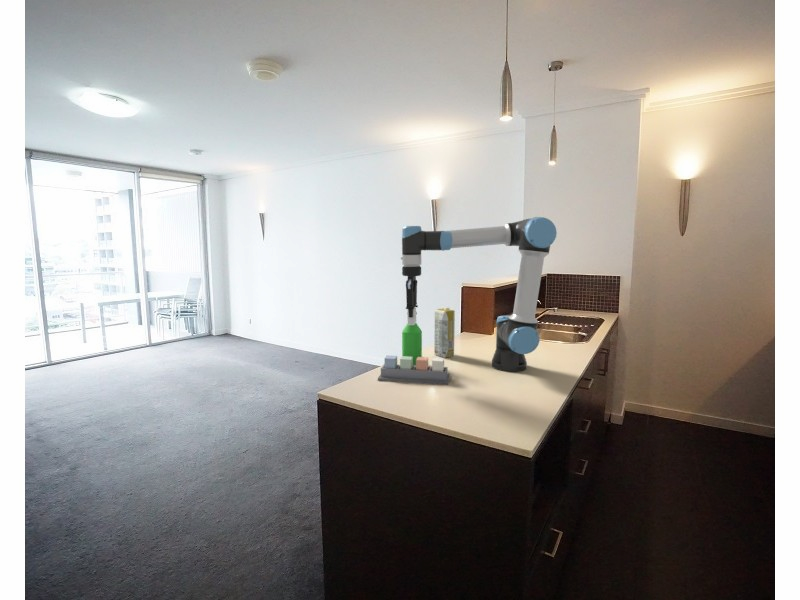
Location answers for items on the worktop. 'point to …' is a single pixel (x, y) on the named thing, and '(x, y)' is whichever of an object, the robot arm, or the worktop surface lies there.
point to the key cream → (438, 364)
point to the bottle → (412, 341)
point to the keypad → (414, 375)
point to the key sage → (406, 362)
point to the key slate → (390, 362)
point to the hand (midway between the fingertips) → (411, 324)
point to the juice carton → (444, 332)
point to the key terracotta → (422, 363)
